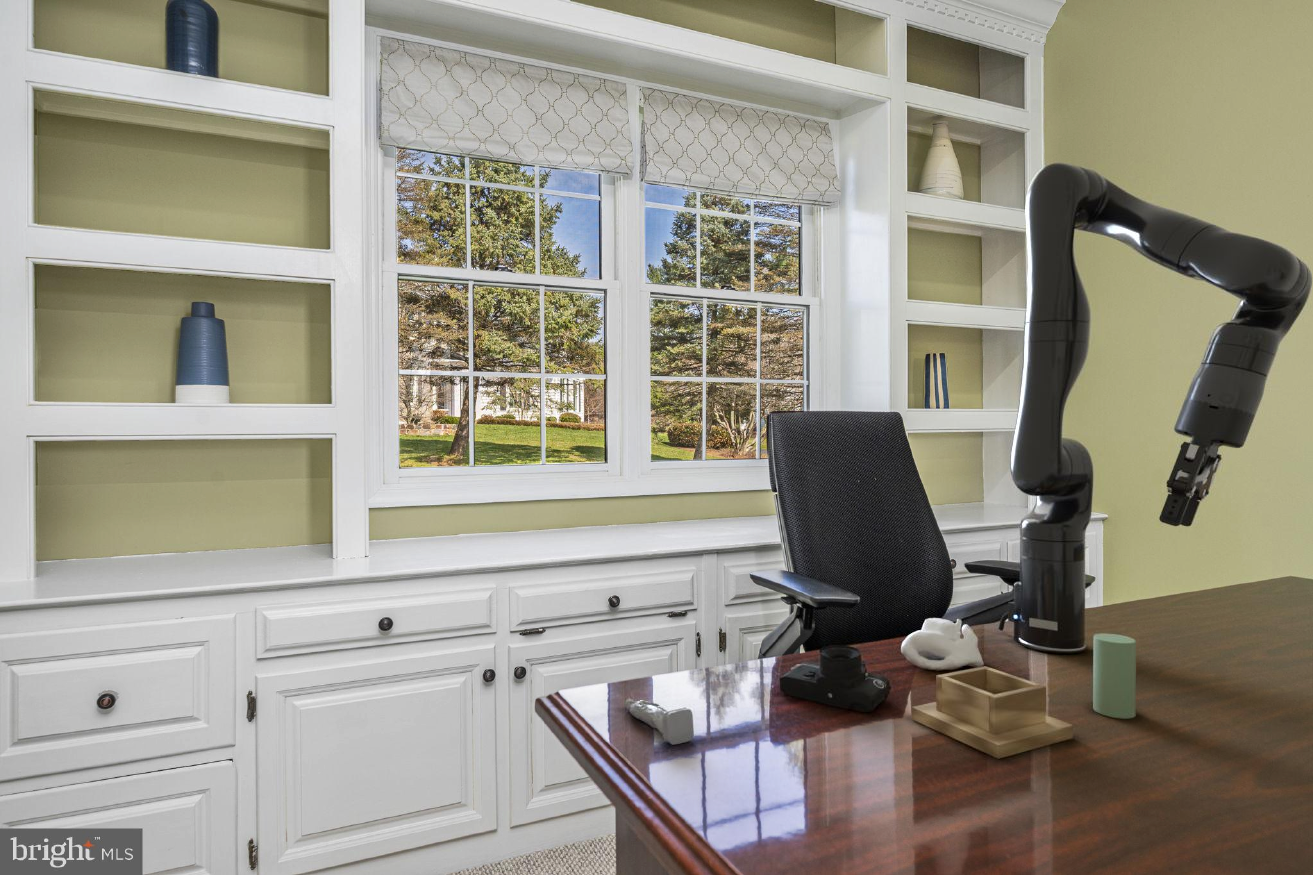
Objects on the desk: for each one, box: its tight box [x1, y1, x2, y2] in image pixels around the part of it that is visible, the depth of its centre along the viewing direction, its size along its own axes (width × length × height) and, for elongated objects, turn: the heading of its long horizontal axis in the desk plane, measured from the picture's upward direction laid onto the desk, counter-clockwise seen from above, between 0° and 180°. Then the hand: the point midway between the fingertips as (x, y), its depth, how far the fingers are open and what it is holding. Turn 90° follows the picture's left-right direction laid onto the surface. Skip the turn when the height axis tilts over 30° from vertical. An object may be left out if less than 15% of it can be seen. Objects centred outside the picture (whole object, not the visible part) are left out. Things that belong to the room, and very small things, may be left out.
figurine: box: [625, 698, 695, 746], centre depth 86 cm, size 4×12×4 cm, turn 31°
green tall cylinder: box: [1092, 632, 1137, 720], centre depth 91 cm, size 4×4×9 cm
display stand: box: [911, 665, 1074, 760], centre depth 85 cm, size 12×12×6 cm
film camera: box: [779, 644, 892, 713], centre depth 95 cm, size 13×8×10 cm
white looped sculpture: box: [900, 617, 985, 672], centre depth 109 cm, size 9×12×8 cm
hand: (1174, 524), depth 97 cm, fingers open, 8 cm apart
